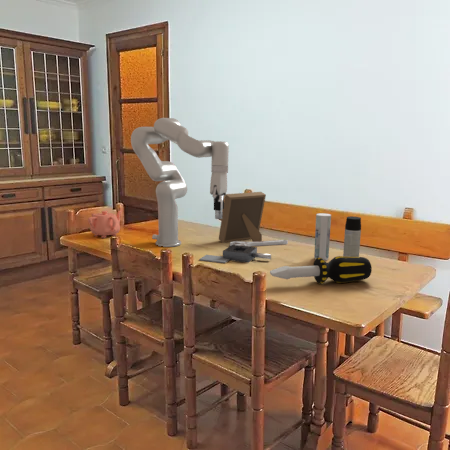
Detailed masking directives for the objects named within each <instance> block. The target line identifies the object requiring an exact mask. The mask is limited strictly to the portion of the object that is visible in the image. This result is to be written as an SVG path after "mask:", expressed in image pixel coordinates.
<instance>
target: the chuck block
mask: <svg viewBox="0 0 450 450" xmlns="http://www.w3.org/2000/svg"><path fill="white" fill-rule="evenodd" d="M222 256H223V258H224V259H229V261H232V262H237V263H239V262H240V263H250V262H251V261H253V259H255V258H259V259H268V260H271V258H272V254H271V253H270V254H269V253H261V252H258V246H250V247H248V246H238V245H231V246H230V245H229V246H228V247H227V248H224V250H222Z"/></svg>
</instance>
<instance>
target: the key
mask: <svg viewBox="0 0 450 450" xmlns="http://www.w3.org/2000/svg"><path fill="white" fill-rule="evenodd" d="M226 194H227V192H226V193H223V194H222V195H220V202H221V210H220V211H218V210H214V211H215V212H214V219H215V220H222V216H223V195H226ZM216 195H218V193H216Z"/></svg>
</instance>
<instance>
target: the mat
mask: <svg viewBox="0 0 450 450" xmlns="http://www.w3.org/2000/svg"><path fill="white" fill-rule="evenodd" d="M198 261H200V262H202V261H203V262H210V263H217V264H218V263H219V264H226V263H228V262H229V261H230V260H229V259H224V258H223V255H222V256H221V255H214V254H213V255H212V254H205V255H203V256H201V257H200V258H199V260H198Z"/></svg>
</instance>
